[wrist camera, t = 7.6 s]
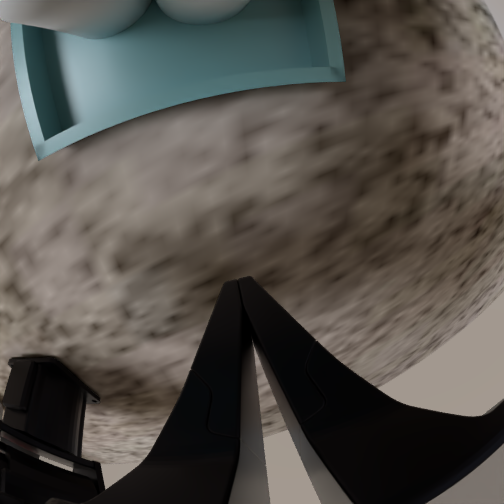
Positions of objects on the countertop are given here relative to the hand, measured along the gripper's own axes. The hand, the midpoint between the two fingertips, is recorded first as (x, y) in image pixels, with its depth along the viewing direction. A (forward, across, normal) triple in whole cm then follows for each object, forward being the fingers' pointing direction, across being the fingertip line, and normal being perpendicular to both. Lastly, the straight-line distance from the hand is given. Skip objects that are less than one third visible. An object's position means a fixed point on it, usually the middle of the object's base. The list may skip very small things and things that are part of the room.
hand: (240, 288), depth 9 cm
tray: (+4, 0, -10) cm, 11 cm away
